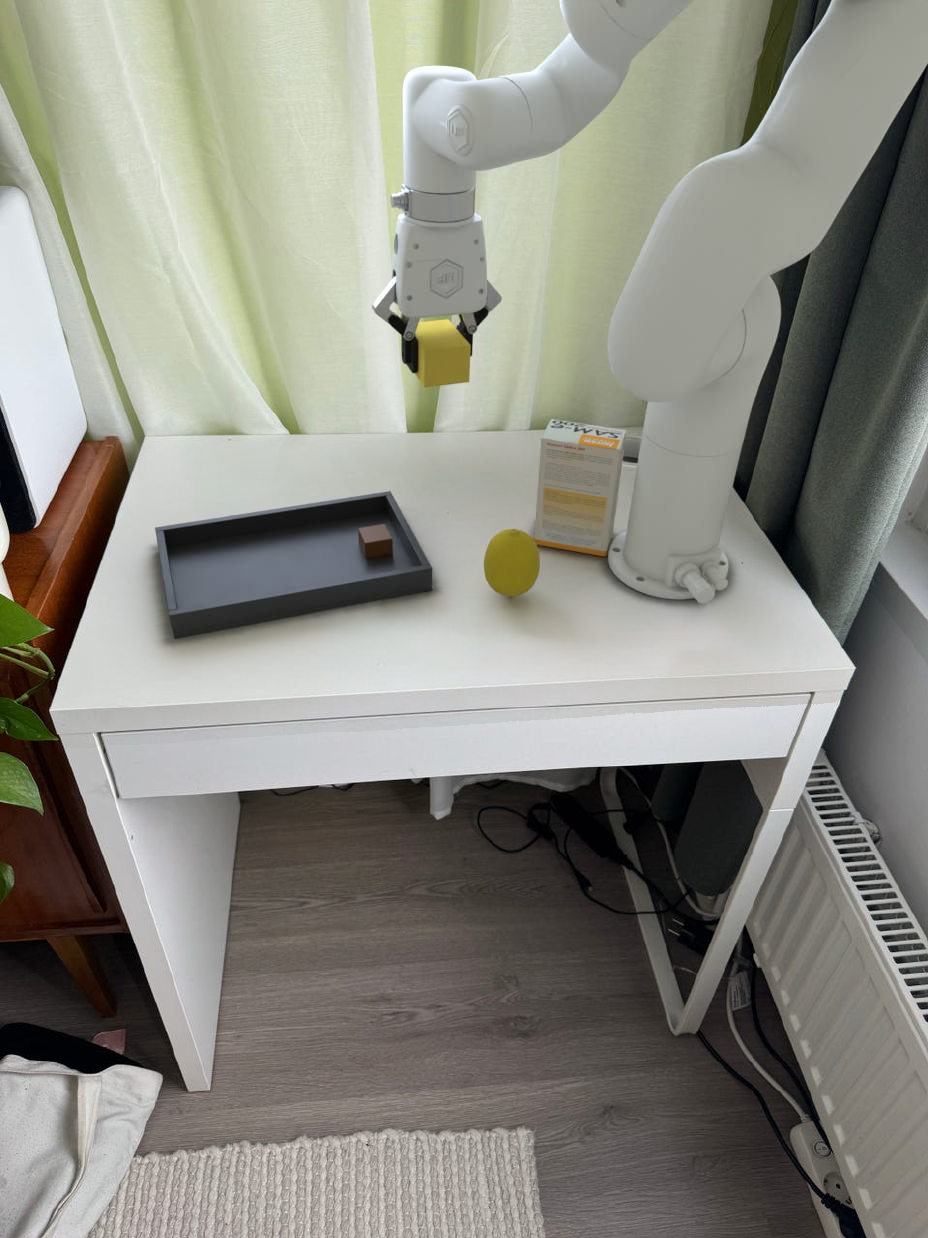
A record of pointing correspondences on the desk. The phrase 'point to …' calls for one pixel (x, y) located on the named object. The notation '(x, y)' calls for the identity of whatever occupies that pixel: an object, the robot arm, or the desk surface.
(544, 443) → the supplement box
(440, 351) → the sponge
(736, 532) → the desk surface
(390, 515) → the pan
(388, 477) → the desk surface
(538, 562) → the lemon
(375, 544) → the brown block
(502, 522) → the desk surface
